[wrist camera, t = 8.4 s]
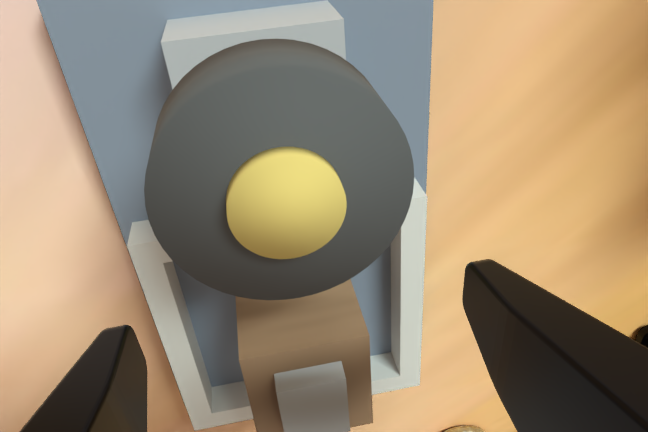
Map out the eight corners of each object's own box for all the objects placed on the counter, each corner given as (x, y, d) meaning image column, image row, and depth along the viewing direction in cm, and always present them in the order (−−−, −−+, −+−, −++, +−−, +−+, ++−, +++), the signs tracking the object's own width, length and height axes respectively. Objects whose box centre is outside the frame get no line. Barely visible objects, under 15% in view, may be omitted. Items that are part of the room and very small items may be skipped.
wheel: (390, 233, 15) (418, 290, 13) (184, 268, 15) (179, 334, 13) (389, 22, 12) (425, 54, 10) (121, 56, 11) (101, 99, 9)
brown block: (346, 331, 25) (377, 440, 20) (252, 349, 24) (262, 465, 20) (340, 248, 22) (375, 353, 17) (233, 267, 22) (240, 379, 17)
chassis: (412, 342, 28) (436, 400, 25) (186, 386, 27) (182, 452, 24) (422, -52, 17) (466, -35, 14) (46, -9, 16) (8, 19, 13)
